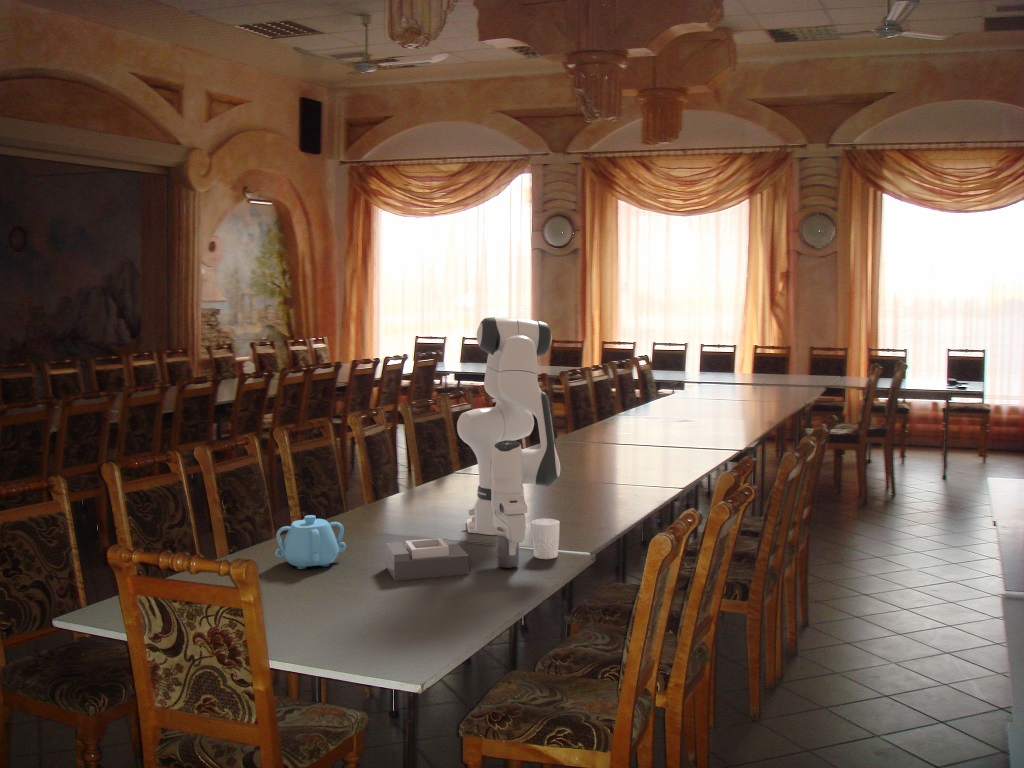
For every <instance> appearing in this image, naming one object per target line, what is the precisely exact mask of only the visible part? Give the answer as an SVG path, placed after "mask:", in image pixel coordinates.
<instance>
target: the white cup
mask: <svg viewBox="0 0 1024 768" xmlns="http://www.w3.org/2000/svg"><path fill="white" fill-rule="evenodd" d="M560 522H561V521H559V520H558V519H554V518H537V519H534V520H531V535H532V536H531V537H532V547H533V557H534V558H536V559H539V560H551V559H556V558H558V556H559V546H560Z"/></svg>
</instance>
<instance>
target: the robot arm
mask: <svg viewBox="0 0 1024 768" xmlns="http://www.w3.org/2000/svg"><path fill="white" fill-rule="evenodd" d="M476 341H477V344H478V348H479V349H480V350H481V351H483V352H485V353H488V355H487V361H486V367H485V374H484V380H483V388H484V390H485V392H486V393H487V395H489V396H490V397H492V398H493V399H495V401H496V402H495V406H493V407H480V408H479V407H478V408H474V409H471V410H467V411H465V412H462V413H461V414H460V415H459V417H458V420H457V423H456V429H457V435H458V437H459V438H460V439H461V440H462V441H463V442H464V443H465V444H467V445H468V446H469V447H470V449H471V450H472V452H473V454H474V455H475V457H476V461H477V467H478V482H479V483H478V486H477V491H476V492H477V499H476V500H475V502H474V504H473V506H472V507H471V508H470V507H469V508H468V516H471V518H468V519H466V522H465V523H466V528H467V532H468V533H470V534H481V535H489V536H497V527H500V528H501V529H502V530H503V531H504V536H505V537H506V538H507V539H508V543H509V548H508V554H509V555H515V554H516V546H517V543H519V544H521V543H523V542H524V541H525V538H526V529H527V524H526V523H527V521H526V520H527V519H526V514H527V513H528V505H527V502H526V501H525V491H524V490H525V489H524V485H536V486H545V487H549V486H551V485H552V484H554V483H555V482H556V481H557V480H558V479H559V478H560V474H561V462H560V458H559V456H558V449H557V444H556V437H555V429H554V422H553V415H552V410H551V403H550V400H549V396H548V395H547V393H546V392H545V391H542V389H541V387H540V385H539V380H538V376H539V375H538V374H539V373H538V367H539V366H538V357H542V356H544V355H546V354H547V353H549V351H550V348H551V345H552V341H553V337H552V331H551V327H550V326H549V325H548V323H546V322H544V321H540V320H532V319H526V318H520V317H515V318H511V317H497V318H496V317H495V316H494V317H486V318H483V319H482V320H481V321H480V323H479V326H478V327H477V330H476ZM534 417H535V418H536V420H537V426H538V433H539V434H538V435H539V442H540V448H537V449H532V448H531V449H528V448H527V449H526V448H525V449H524V448H522V445H521V443H520V442H518V441H517V440H521V439H524V438H526V437H529V436H530V435H531V434H532V432H533V430H534V426H535V419H534ZM523 484H524V485H523Z"/></svg>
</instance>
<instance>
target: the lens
mask: <svg viewBox="0 0 1024 768" xmlns="http://www.w3.org/2000/svg"><path fill="white" fill-rule="evenodd" d="M508 548H509V543H508V539H507V538H506V537H505V536H504V531H503V530H502V529H501V528H500V527H497V535H496V565H497V566H498V567H501V568H515V567H518V566H519V565H520V543H517V546H516V554H515V555H509V554H508Z"/></svg>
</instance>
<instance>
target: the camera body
mask: <svg viewBox="0 0 1024 768" xmlns="http://www.w3.org/2000/svg"><path fill="white" fill-rule="evenodd" d="M404 543H405V546H404ZM404 543H402V542H401V541H393V542H386V543H385V548H386V549H385V552H386V553H385V554H386V569H387V571H388V572H389V574H390V576H391V577H392V579H393V580H394V582H398V581H408V580H418V579H429V578H431V579H432V578H438V577H439V578H441V577H451V576H452V577H453V576H462V575H463V576H464V575H469V574H470V565H469V564H470V560H469V559H470V558H469V557H470V555H469V554H468V553H467V552H466V551H465V550H464V549H463V548H462V547H461V546H460V545H459V543H454V544H447V543H446V542H445V541H444V540H443V539H442V537H437V538H425V539H412V540H405V542H404Z"/></svg>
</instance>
